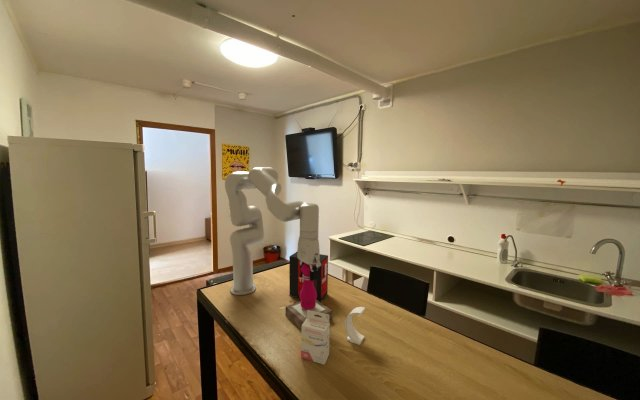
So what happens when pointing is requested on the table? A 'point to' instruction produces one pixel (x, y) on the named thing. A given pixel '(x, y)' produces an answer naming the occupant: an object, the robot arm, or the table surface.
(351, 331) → the headphone stand
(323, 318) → the ink cartridge box
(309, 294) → the pepper mill
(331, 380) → the table surface
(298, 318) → the walnut frame
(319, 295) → the cleaning product box
